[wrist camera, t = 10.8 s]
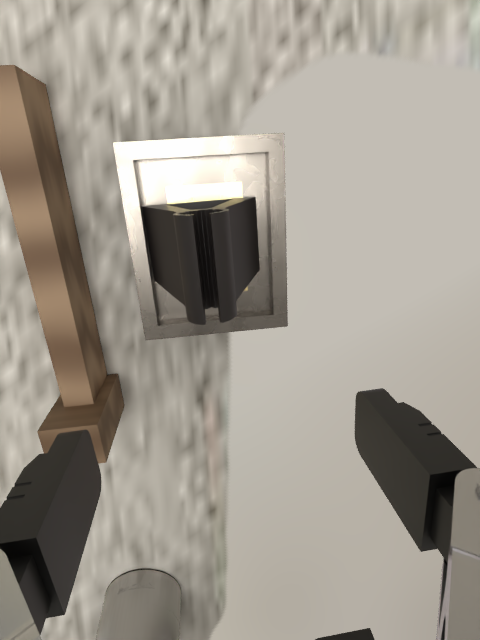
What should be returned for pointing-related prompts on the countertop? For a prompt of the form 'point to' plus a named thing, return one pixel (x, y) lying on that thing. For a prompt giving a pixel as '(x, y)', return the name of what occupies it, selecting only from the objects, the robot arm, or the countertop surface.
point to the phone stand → (204, 252)
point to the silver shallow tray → (202, 185)
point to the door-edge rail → (55, 264)
